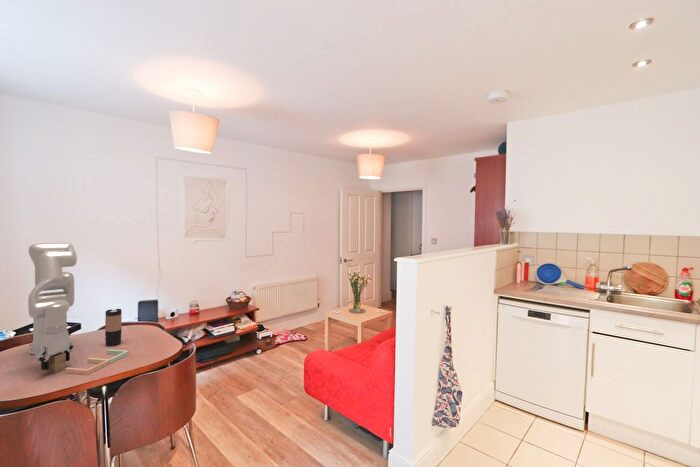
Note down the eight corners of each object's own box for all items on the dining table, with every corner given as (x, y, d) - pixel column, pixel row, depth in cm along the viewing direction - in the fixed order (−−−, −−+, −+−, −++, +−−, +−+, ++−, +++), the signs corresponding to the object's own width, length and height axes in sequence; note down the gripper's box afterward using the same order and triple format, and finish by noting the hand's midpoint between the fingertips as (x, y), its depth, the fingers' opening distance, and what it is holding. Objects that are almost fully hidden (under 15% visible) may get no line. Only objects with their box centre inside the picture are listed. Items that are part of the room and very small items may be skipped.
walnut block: (45, 372, 147) (45, 356, 147) (56, 368, 152) (56, 351, 152) (54, 373, 147) (55, 356, 147) (65, 369, 152) (65, 352, 152)
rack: (64, 372, 148) (64, 368, 148) (108, 352, 171) (108, 349, 171) (87, 374, 147) (87, 370, 147) (128, 354, 170) (128, 350, 170)
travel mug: (112, 347, 179) (112, 312, 179) (101, 345, 181) (101, 311, 180) (124, 342, 187) (125, 309, 186) (114, 341, 188) (114, 308, 188)
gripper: (67, 323, 158) (67, 357, 158) (28, 335, 141) (28, 372, 141) (80, 324, 157) (80, 358, 158) (43, 336, 140) (43, 373, 140)
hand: (55, 365), depth 149 cm, fingers open, 9 cm apart
